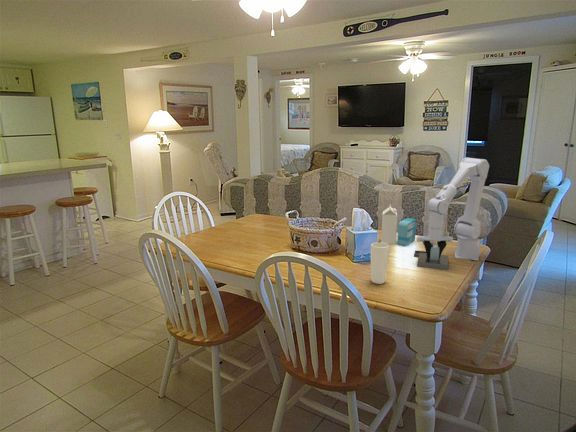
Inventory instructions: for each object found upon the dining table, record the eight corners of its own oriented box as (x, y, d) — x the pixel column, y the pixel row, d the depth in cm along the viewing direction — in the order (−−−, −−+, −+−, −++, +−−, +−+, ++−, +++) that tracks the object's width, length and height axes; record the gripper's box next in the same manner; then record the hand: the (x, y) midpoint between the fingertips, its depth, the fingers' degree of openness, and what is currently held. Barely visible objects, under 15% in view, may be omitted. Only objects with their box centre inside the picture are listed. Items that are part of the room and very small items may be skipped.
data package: (405, 247, 196) (407, 223, 193) (396, 246, 199) (398, 222, 196) (415, 241, 205) (416, 218, 202) (406, 239, 208) (407, 217, 205)
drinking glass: (367, 278, 160) (368, 242, 156) (384, 277, 161) (385, 241, 157) (372, 285, 154) (373, 248, 150) (389, 284, 154) (391, 247, 150)
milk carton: (380, 244, 201) (382, 207, 196) (381, 240, 208) (383, 203, 203) (395, 245, 200) (397, 207, 195) (395, 241, 206) (397, 204, 202)
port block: (447, 261, 177) (448, 255, 177) (447, 271, 166) (448, 264, 166) (418, 258, 182) (419, 252, 181) (417, 267, 171) (417, 261, 170)
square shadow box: (429, 255, 186) (429, 251, 185) (428, 259, 180) (429, 256, 179) (414, 253, 188) (415, 250, 188) (413, 257, 182) (414, 254, 182)
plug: (435, 260, 176) (437, 242, 174) (438, 263, 172) (439, 244, 170) (427, 260, 176) (428, 242, 174) (429, 263, 172) (431, 244, 170)
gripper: (449, 224, 173) (447, 254, 177) (415, 224, 174) (413, 254, 177) (456, 229, 167) (453, 260, 170) (420, 229, 167) (418, 260, 171)
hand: (433, 257), depth 173 cm, fingers closed on plug, 4 cm apart
